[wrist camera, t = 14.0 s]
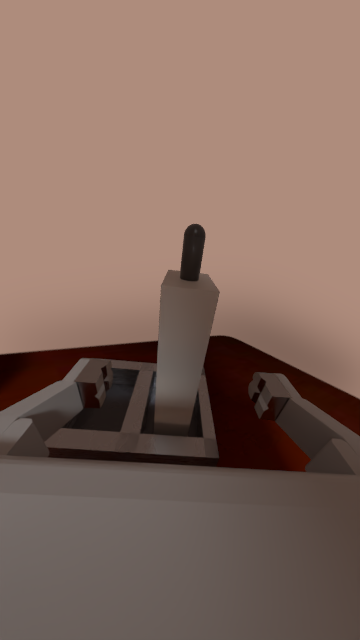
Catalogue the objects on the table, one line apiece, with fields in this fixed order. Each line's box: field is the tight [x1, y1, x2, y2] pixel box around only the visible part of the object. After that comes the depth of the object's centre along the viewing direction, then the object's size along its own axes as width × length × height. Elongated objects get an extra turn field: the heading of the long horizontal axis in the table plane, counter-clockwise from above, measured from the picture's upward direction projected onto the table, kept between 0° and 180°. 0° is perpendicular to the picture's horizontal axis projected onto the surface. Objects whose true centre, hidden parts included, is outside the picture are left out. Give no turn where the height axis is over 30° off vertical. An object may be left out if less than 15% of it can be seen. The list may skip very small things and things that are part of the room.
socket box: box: [44, 358, 219, 467], centre depth 16 cm, size 9×14×3 cm, turn 89°
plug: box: [154, 224, 220, 437], centre depth 13 cm, size 4×3×17 cm, turn 179°
